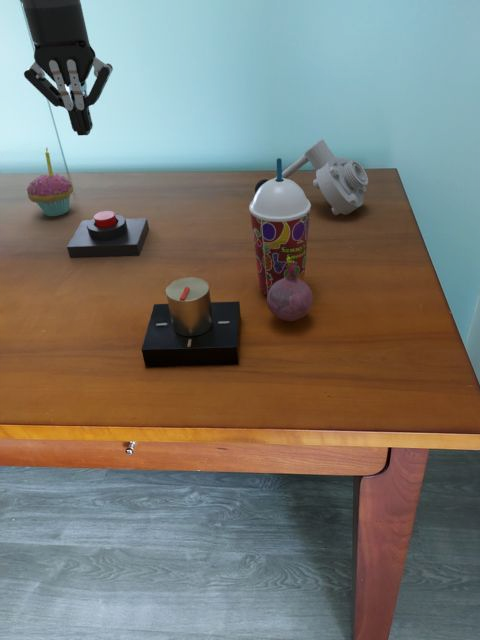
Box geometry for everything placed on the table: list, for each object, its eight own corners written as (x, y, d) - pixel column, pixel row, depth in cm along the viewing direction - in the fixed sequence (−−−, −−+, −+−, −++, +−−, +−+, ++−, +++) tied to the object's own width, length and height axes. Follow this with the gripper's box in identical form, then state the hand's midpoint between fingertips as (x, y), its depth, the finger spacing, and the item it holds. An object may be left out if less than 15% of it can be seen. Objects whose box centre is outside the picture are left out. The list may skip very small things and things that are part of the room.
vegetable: (317, 313, 75) (320, 251, 69) (303, 338, 71) (303, 275, 65) (278, 305, 77) (277, 244, 71) (261, 329, 73) (258, 266, 67)
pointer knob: (178, 310, 72) (172, 274, 68) (217, 312, 71) (212, 276, 67) (167, 335, 68) (160, 297, 64) (208, 337, 67) (203, 300, 63)
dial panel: (145, 367, 68) (140, 348, 66) (157, 321, 75) (153, 302, 73) (238, 364, 67) (236, 345, 65) (240, 318, 75) (239, 300, 73)
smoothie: (293, 311, 76) (293, 175, 63) (244, 297, 79) (234, 165, 66) (317, 282, 81) (322, 153, 69) (270, 270, 85) (266, 144, 72)
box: (70, 258, 90) (63, 237, 88) (85, 231, 98) (79, 211, 96) (139, 255, 90) (135, 234, 88) (149, 228, 98) (145, 208, 95)
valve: (304, 238, 112) (261, 179, 109) (381, 187, 100) (336, 119, 96) (287, 258, 105) (240, 195, 101) (368, 205, 92) (319, 132, 89)
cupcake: (56, 199, 110) (38, 141, 102) (88, 206, 107) (71, 146, 99) (25, 217, 104) (4, 156, 96) (58, 224, 101) (38, 161, 93)
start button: (93, 229, 90) (91, 220, 89) (98, 220, 93) (96, 211, 92) (114, 229, 90) (112, 219, 89) (119, 219, 93) (116, 210, 92)
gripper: (106, -5, 74) (131, 124, 85) (13, 0, 74) (49, 128, 85) (93, 2, 68) (121, 140, 79) (-8, 7, 68) (34, 143, 79)
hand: (84, 133), depth 82 cm, fingers closed
